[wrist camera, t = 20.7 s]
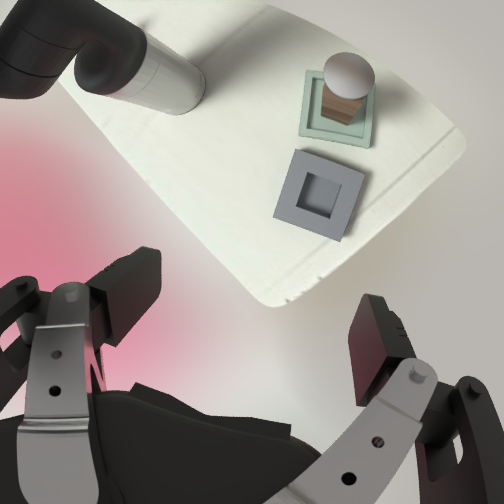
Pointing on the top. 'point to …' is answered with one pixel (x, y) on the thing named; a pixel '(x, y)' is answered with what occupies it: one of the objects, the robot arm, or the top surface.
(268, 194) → the top surface
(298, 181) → the charcoal holder
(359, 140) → the sage green tray
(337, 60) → the dark wooden pin
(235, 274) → the top surface
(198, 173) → the top surface
